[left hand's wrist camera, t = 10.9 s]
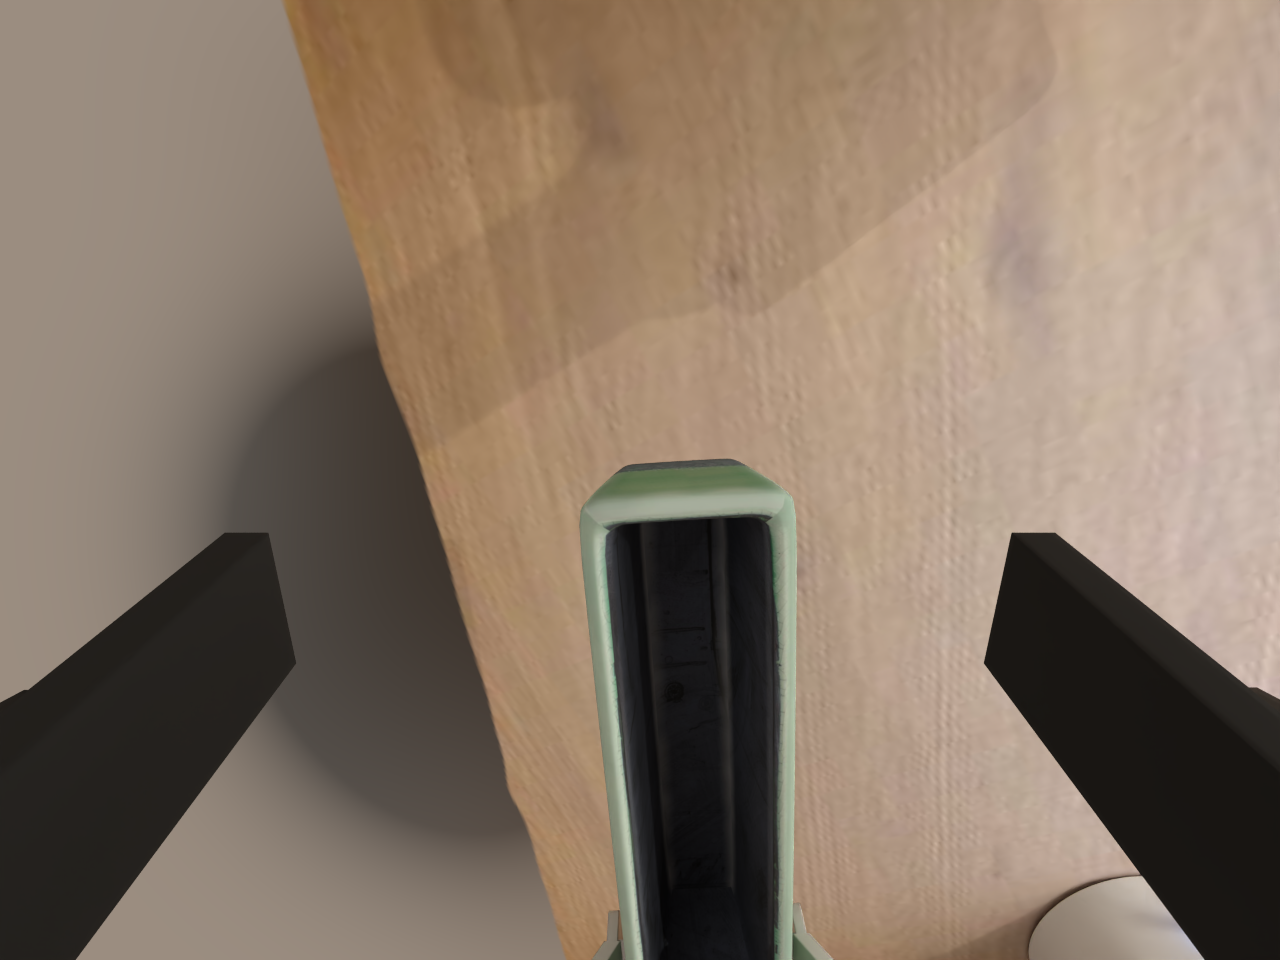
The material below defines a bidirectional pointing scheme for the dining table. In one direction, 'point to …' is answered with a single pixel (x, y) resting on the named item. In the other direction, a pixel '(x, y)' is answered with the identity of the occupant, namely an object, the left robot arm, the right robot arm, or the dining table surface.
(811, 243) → the dining table surface
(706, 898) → the planter
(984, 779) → the dining table surface
